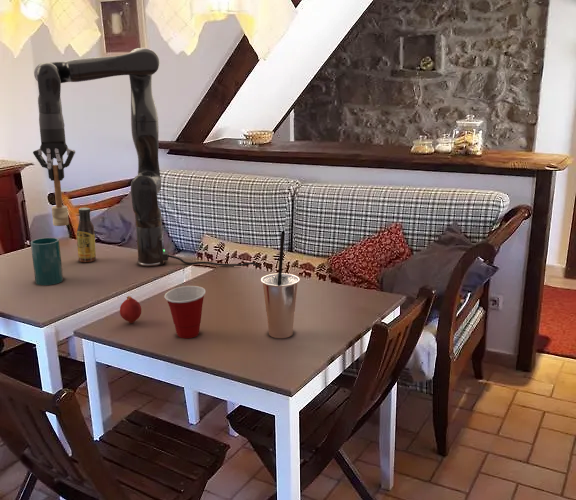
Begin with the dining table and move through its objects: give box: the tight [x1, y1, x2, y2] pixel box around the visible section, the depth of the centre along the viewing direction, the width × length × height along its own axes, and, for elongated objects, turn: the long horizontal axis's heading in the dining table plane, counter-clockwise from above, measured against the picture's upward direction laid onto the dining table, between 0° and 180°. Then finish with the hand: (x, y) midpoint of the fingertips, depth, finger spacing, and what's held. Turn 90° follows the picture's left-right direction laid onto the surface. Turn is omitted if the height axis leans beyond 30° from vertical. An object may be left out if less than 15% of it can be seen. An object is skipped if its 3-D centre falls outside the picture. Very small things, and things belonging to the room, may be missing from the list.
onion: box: [119, 295, 142, 324], centre depth 178 cm, size 6×6×8 cm
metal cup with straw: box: [260, 230, 301, 339], centre depth 166 cm, size 11×11×30 cm
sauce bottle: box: [76, 207, 97, 263], centre depth 235 cm, size 7×6×20 cm
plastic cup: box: [163, 285, 206, 339], centre depth 169 cm, size 11×11×12 cm
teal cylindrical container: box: [30, 237, 64, 286], centre depth 213 cm, size 9×9×14 cm
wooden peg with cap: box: [51, 164, 70, 227], centre depth 213 cm, size 5×5×20 cm
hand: (56, 180), depth 211 cm, fingers closed on wooden peg with cap
